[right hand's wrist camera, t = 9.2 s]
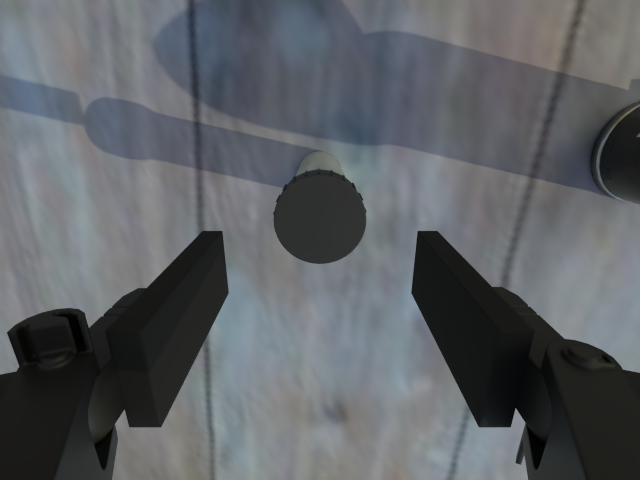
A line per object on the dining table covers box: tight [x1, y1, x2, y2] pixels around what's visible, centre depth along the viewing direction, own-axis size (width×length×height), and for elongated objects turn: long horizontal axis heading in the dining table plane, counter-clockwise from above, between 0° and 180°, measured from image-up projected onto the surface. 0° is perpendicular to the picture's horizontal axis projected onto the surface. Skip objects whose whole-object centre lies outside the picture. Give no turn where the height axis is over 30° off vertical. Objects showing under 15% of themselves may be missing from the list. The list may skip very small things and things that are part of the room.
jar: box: [295, 151, 345, 176], centre depth 27 cm, size 4×4×15 cm
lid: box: [273, 168, 366, 264], centre depth 20 cm, size 5×5×2 cm
